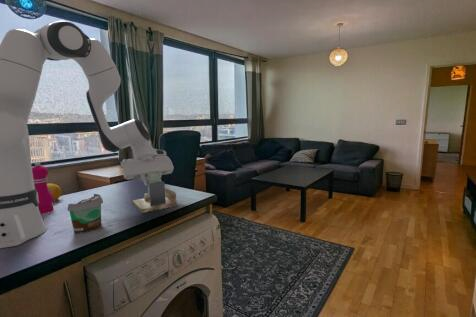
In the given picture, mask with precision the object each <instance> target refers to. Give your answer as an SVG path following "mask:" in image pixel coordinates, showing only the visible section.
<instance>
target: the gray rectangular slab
mask: <svg viewBox="0 0 476 317" xmlns="http://www.w3.org/2000/svg"><path fill="white" fill-rule="evenodd" d="M165 187H166V186H165V181H162V182H157V183H150V184H149V197H150V206H156V205H161V204H166V199H165Z"/></svg>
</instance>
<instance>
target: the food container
mask: <svg viewBox="0 0 476 317" xmlns="http://www.w3.org/2000/svg"><path fill="white" fill-rule="evenodd" d="M103 202H104V200H103V197H102V196H101V195H100V194H99V193H93V196H91V197H89V198H85V199H82V200H81V201H79V202H77V203H67V212H69V215H70V219H71V224H72V230H73V234H83V233H89V232H92V231H96V230H97V229H99V228H100V227H101V226H102V204H103Z"/></svg>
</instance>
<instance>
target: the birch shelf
mask: <svg viewBox="0 0 476 317" xmlns="http://www.w3.org/2000/svg"><path fill="white" fill-rule="evenodd" d="M165 199H166V204H161V205H156V206H150V198H149V195H148V193H147V192H146V193H144V194H143V198H138V199H133V200H132V205H133V206H134V207H135V208H136V209H137V210H138V211H139V212H140V213H141V214H145V213H149V211H150V212H155V211H159V210H163V208H164V209H167V208H168V207H169V208H172V207H173V206H174V207H177V193H176V192H175V191H173V190H172V189H170V188H169V187H167V186H165ZM158 209H159V210H158ZM154 210H155V211H154Z"/></svg>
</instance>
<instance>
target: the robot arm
mask: <svg viewBox="0 0 476 317" xmlns="http://www.w3.org/2000/svg"><path fill="white" fill-rule="evenodd" d="M70 59H71V60H74V61H75V62H76V63H77V64H78V65H79V67H81V70H82V71H83V74H84V75H85V77H86V79H87V82H88V90H87V91H86V93H85V94H86V95H85V96H86V101H87V104H88V107H89V109H90V112H91V115H92V118H93V122H94V123H95V126H96V130H97V131H98V135H99V138H100V140H99V141H100V143H101V145H102V148H104V150H105V151H107V152H111V153H117V152H120V151H121V150H123V149H126V148H128V147H130V148H131V150H132V156H133V158H124V159H123V160H121V161H120V162H119V163H120V166H121V168H122V170H123V178H124V179H125V180H129V181H130V180H136V179H139V180H140V181H141V182H142V183H143V184H144V186H147V187H148V185H149V180H147V179H146V178H147V174H149V173H157V174H159V179H160V182H163V181H162V176H163V175H169V174H173V171H174V169H175V168H174V167H175V166H174V165H173V162H172V160H171V159H170V157H169V156H167V151H166V150H163V149H156V148H154V147H153V145H152V141H151V134H150V131H149V128H148V126H147V125H146V123H145V122H144V121H142V120H140V119H139V118H133V119H130V120H128V121H127V120H126V121H125V122H123V123H120V124H117V125H115V126H112V127H111V126H110V125H109V123H108V121H107V118H106V115H105V112H104V108H103V106H104V104H105V103H106V101H108V99H109V98H111V97H112V96H113V95H114V94H115V93H116V92H117V91H118V89H119V87H120V85H121V82H122V80H121V75H120V73H119V69H118V68H117V66H116V64H115V62H114V60H113V58H112V57H111V55H110V54H109V52H108V50H107V49H106V47H105V46H104V45H103V43H102V42H101V41H100V40H99V39H96V38H90V37H89V36H88V35H87V34H86V33H84V31H83V30H82V29H81V28H80V27H79V26H77V25H76V24H74V23H73V22H70V21H67V20H57V21H54V22H52V23H47V24H45V25H43V26H42V27H40V28H39V29H37V30H36V31H34V32H31V31H28V30H26V29H21V28H13V29H9V30H8V31H7V32H6V33H5V35H4V36H3V38H2V41H1V42H0V249H4V248H5V249H6V248H11V247H15V246H19V245H21V244H23V243H26V242H27V241H29V240H30V239H33V238H36V237H38V236H40V235H42V234H43V233H45V231H47V228H48V227H47V226H46V224H45V222H44V220H43V218H42V214H40V211H39V207H38V205H39V199H38V192H37V189H36V188H35V187H34V180H33V173H32V167H33V165H32V154H31V144H30V135H29V128H28V121H29V118H30V115H31V111H32V108H33V105H34V102H35V99H36V96H37V91H38V88H39V84H40V80H41V76H42V72H43V68H44V64H45V62H46V61H47V60H48V61H58V62H59V61H68V60H70Z"/></svg>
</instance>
